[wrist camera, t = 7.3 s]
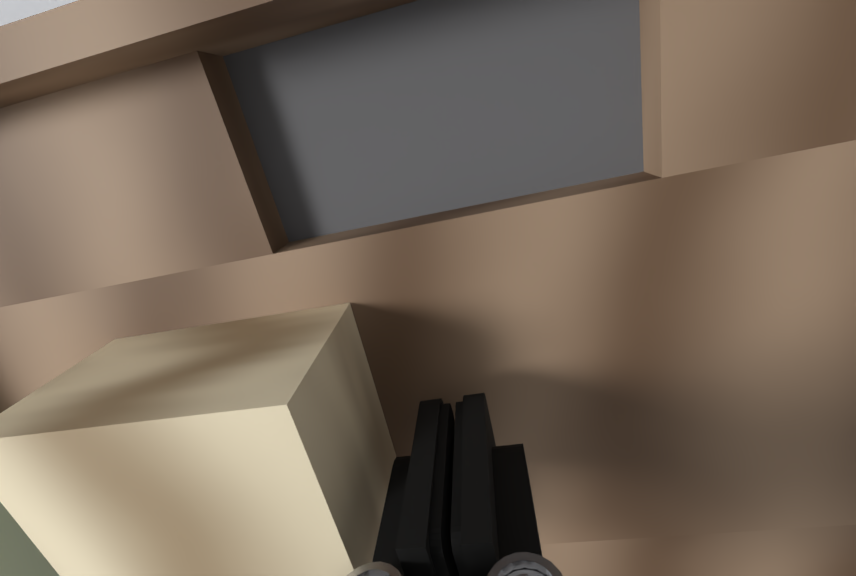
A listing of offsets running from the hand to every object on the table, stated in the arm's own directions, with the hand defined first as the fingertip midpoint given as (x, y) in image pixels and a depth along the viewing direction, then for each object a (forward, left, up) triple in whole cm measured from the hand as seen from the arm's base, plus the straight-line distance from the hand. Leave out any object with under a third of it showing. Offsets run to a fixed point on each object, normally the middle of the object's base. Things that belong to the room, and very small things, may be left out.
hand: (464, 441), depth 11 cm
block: (+6, -1, -1) cm, 6 cm away
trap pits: (+2, 0, -2) cm, 3 cm away
